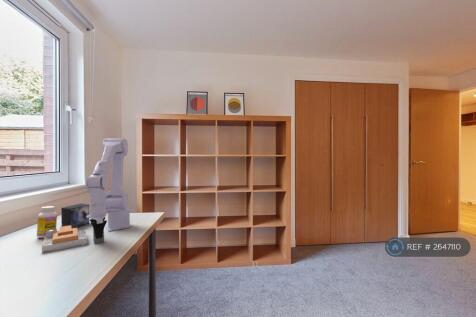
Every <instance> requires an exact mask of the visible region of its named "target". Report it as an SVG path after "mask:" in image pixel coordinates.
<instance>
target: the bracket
mask: <svg viewBox="0 0 476 317" xmlns="http://www.w3.org/2000/svg"><path fill="white" fill-rule="evenodd" d="M77 230H78V227H77V228H72V229H71V225H70V226H63V227H61V226H60V228H59V230H57V232H56V233H54V234H53V239H52V244H53V243H59V242H64V241H70V240H75V239H78V232H77Z"/></svg>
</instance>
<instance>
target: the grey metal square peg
mask: <svg viewBox="0 0 476 317" xmlns="http://www.w3.org/2000/svg"><path fill="white" fill-rule="evenodd" d="M92 233H93V234H92V236H93V238H92V239H93V244H94V245H96V244H100V243H105V230H104V231H103V236H102V238H98V239H96V237H95V232H94V228H93V227H92Z"/></svg>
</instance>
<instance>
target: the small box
mask: <svg viewBox="0 0 476 317" xmlns="http://www.w3.org/2000/svg"><path fill="white" fill-rule="evenodd" d="M60 208H61V211H60V212H61V226H60V227H63V226H70V225H71V229H72V228H77V229H78V228H81V227H83V226H87V225H90V218H87V217H86V216H88V215H90V203H89V204H88V203H78V204H73V205H68V206H62V207H60Z"/></svg>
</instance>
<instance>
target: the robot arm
mask: <svg viewBox="0 0 476 317" xmlns="http://www.w3.org/2000/svg"><path fill="white" fill-rule="evenodd" d="M127 140H128V139H126V138H125V137H122V138H121V137H120V138H119V137H118V138H115V137H114V138H113V137H112V138H111V137H110V138H108V137H105V138H104V139H103V140H102V148H103V153H102V156H101V159H100V160H98V161H97V162H96V164H95V166H94V169H93V171H92V173H91V174H90V175H89V176H87V178H86V180H85V187H86V190H87V194H88V196H89V197H88V198H89V202H88V203H89V215H88V216H86V217H87V218H89V223H90V225H91V226H92V229H93V228H94V232H95V237H96V239H98V238H102V236H103V231H104V232H105V227H106V229H107V231H108V232H112V231H118V230H124V229H128V228H129V229H130V228H131V222H130V220H131V218H130V209H129V208H127V207H128V205H129V198H128V192H126V191H124V190H123V175H124V162H125V161H124V160H125V159H124V158H125V157H126V156H128V151H129V150H128V149H129V144H128V141H127ZM111 162H112V163H111ZM111 164H112V165H111ZM110 171H111V179H110V180H111V181H110V189H109V190H108V191H107V192H106V188H107V187H108V185H109V174H110ZM106 217H107V219H106Z"/></svg>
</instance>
